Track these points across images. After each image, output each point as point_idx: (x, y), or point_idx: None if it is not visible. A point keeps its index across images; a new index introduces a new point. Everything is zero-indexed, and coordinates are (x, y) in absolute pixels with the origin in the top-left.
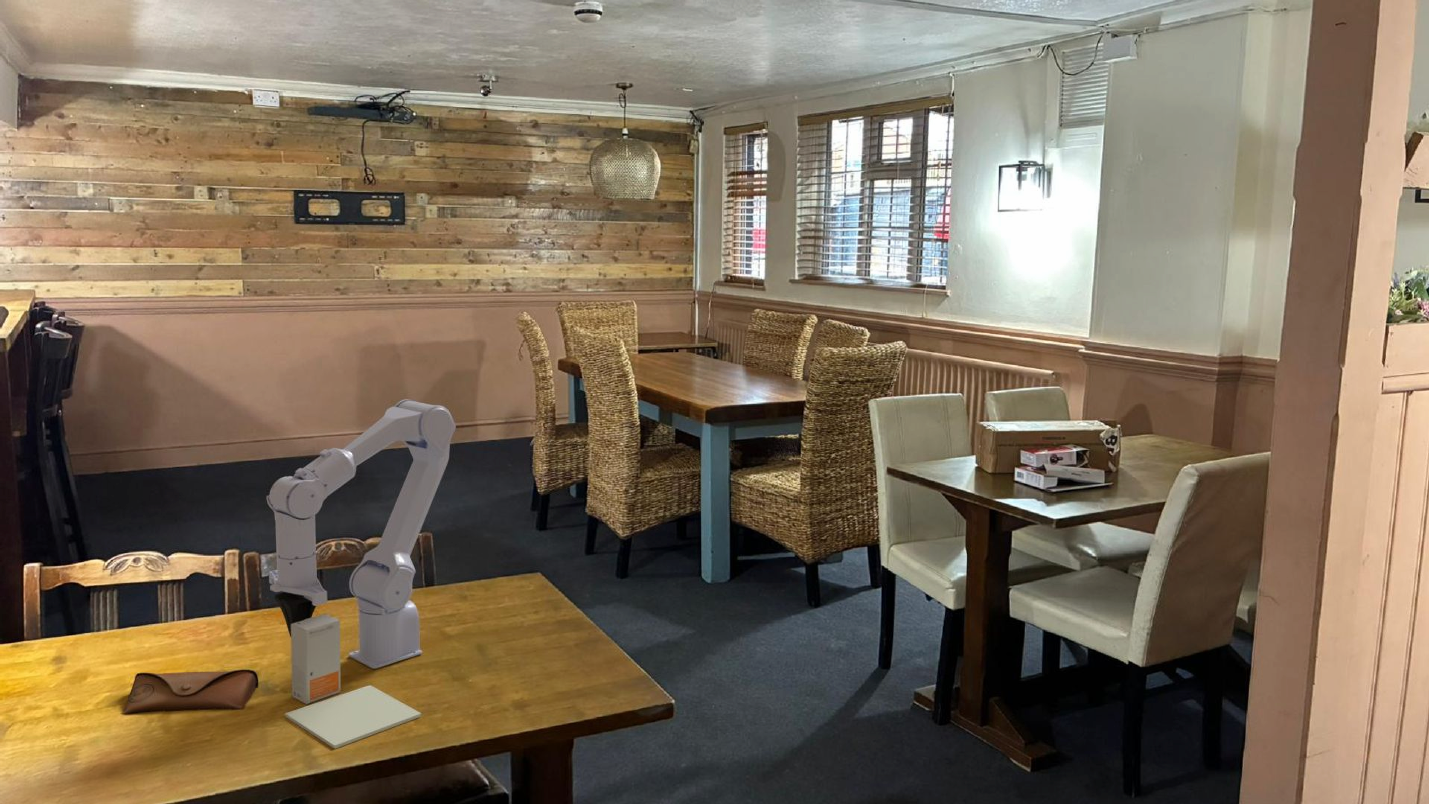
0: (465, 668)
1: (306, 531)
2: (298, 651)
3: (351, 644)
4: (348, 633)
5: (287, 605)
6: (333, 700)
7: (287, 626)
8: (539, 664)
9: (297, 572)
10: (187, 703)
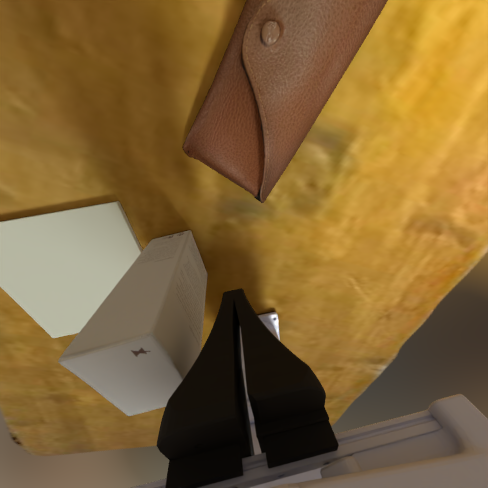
0: None
1: None
2: (140, 285)
3: (305, 318)
4: (334, 322)
5: (184, 399)
6: None
7: (247, 304)
8: (154, 416)
9: None
10: (233, 37)
